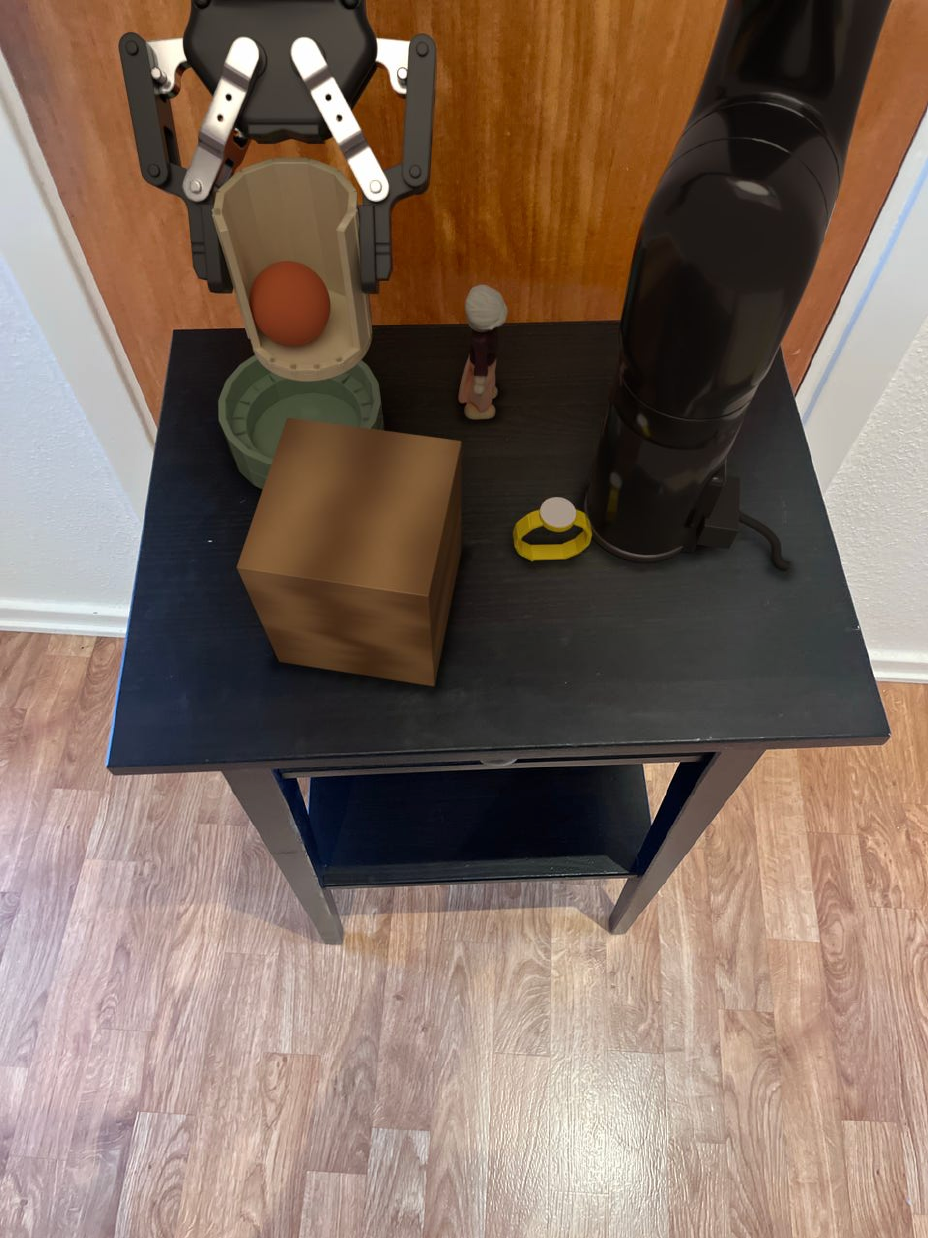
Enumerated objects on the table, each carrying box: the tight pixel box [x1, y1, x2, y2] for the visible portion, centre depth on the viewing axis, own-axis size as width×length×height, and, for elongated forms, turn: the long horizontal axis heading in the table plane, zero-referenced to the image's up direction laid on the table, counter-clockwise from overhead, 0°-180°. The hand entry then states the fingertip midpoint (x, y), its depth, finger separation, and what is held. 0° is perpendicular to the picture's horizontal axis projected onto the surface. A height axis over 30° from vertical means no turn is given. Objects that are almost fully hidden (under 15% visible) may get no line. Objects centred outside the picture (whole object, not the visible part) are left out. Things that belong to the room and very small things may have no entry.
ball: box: [249, 261, 331, 346], centre depth 43 cm, size 4×4×4 cm
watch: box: [512, 496, 593, 562], centre depth 67 cm, size 6×3×6 cm, turn 95°
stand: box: [236, 418, 463, 687], centre depth 61 cm, size 12×12×14 cm
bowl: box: [217, 354, 385, 490], centre depth 73 cm, size 13×13×5 cm
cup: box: [212, 157, 373, 382], centre depth 42 cm, size 6×6×8 cm
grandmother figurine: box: [457, 284, 509, 420], centre depth 71 cm, size 8×4×13 cm, turn 2°
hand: (296, 291), depth 41 cm, fingers closed on cup, 6 cm apart
